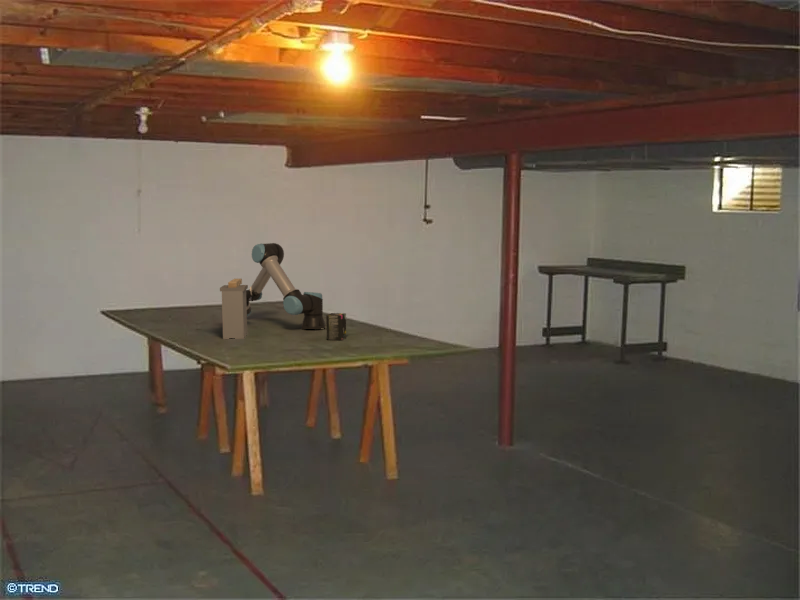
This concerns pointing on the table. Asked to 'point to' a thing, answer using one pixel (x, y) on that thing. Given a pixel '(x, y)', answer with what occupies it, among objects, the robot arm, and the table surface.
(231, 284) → the birch strip
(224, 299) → the grey stand
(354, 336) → the table surface
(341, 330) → the tampon box
